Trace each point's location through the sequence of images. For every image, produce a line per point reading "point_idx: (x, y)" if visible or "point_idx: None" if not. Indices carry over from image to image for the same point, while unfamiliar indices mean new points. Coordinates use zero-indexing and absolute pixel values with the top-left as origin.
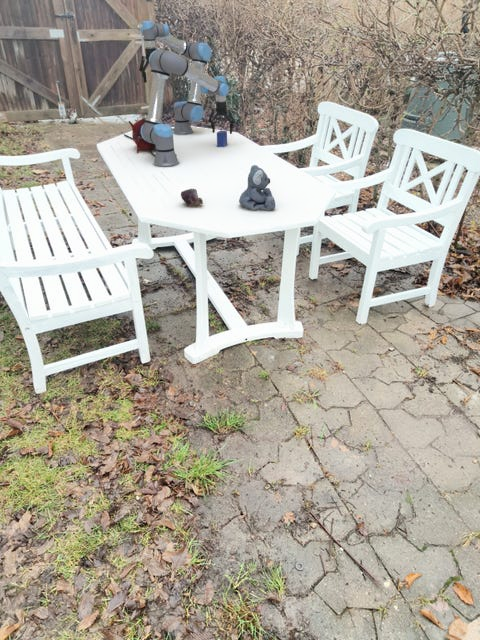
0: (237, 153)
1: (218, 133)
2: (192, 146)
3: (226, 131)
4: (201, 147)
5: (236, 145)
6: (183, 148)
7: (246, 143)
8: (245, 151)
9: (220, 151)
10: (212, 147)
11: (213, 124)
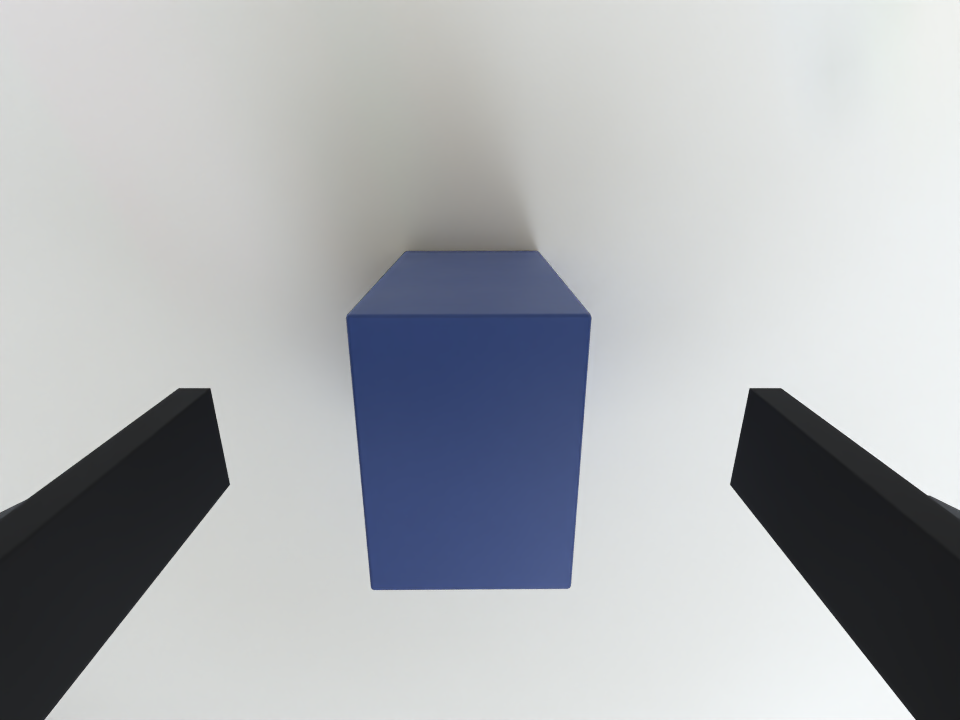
0: (813, 656)
1: (425, 578)
2: None
3: (587, 350)
4: (205, 531)
5: (728, 251)
6: None
7: (921, 12)
8: None
9: (564, 635)
10: None
11: (49, 660)
